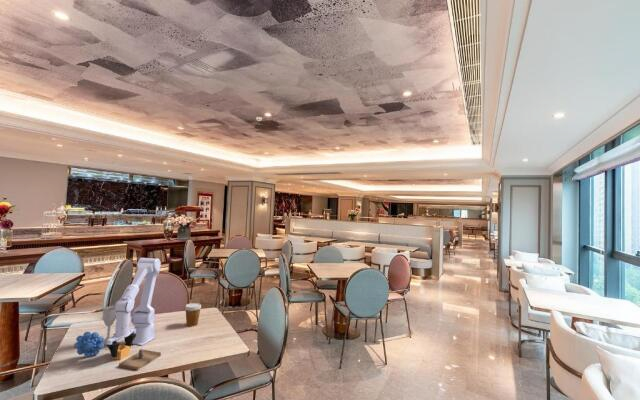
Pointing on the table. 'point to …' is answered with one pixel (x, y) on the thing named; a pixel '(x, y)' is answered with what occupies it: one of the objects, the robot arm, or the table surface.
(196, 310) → the disposable coffee cup
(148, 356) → the keeper base
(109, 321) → the chalice
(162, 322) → the table surface
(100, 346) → the grapes
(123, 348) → the orange hollow frame block
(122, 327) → the robot arm
